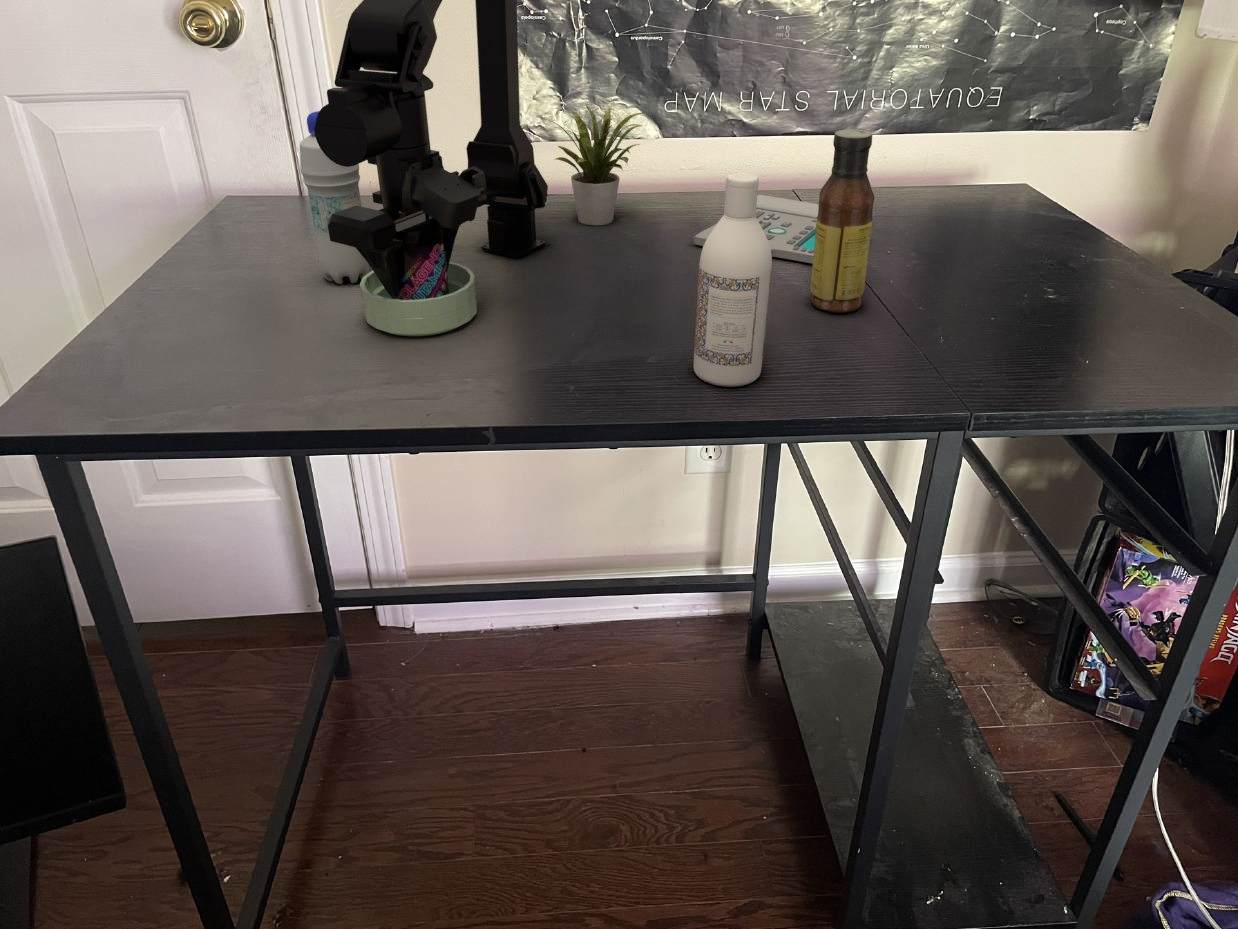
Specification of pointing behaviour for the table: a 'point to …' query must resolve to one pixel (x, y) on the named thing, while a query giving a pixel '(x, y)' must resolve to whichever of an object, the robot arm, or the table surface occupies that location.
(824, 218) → the sauce bottle
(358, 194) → the bottle
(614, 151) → the house plant
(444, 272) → the supplement container
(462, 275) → the bowl
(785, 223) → the office telephone
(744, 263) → the bath foam
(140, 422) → the table surface
